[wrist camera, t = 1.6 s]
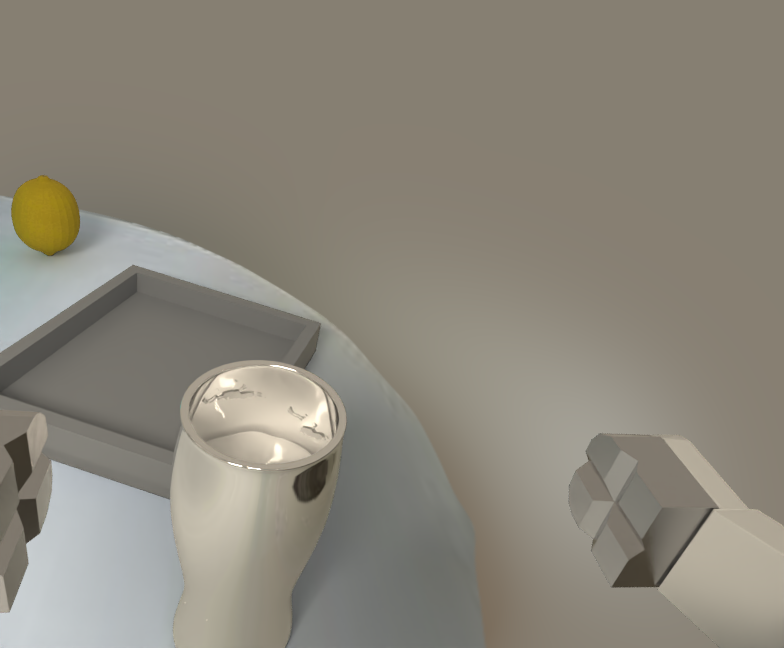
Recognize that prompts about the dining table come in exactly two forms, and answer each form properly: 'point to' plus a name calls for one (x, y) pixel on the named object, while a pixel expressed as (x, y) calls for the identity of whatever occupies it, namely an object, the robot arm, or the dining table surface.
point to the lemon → (45, 215)
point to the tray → (137, 369)
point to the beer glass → (250, 498)
